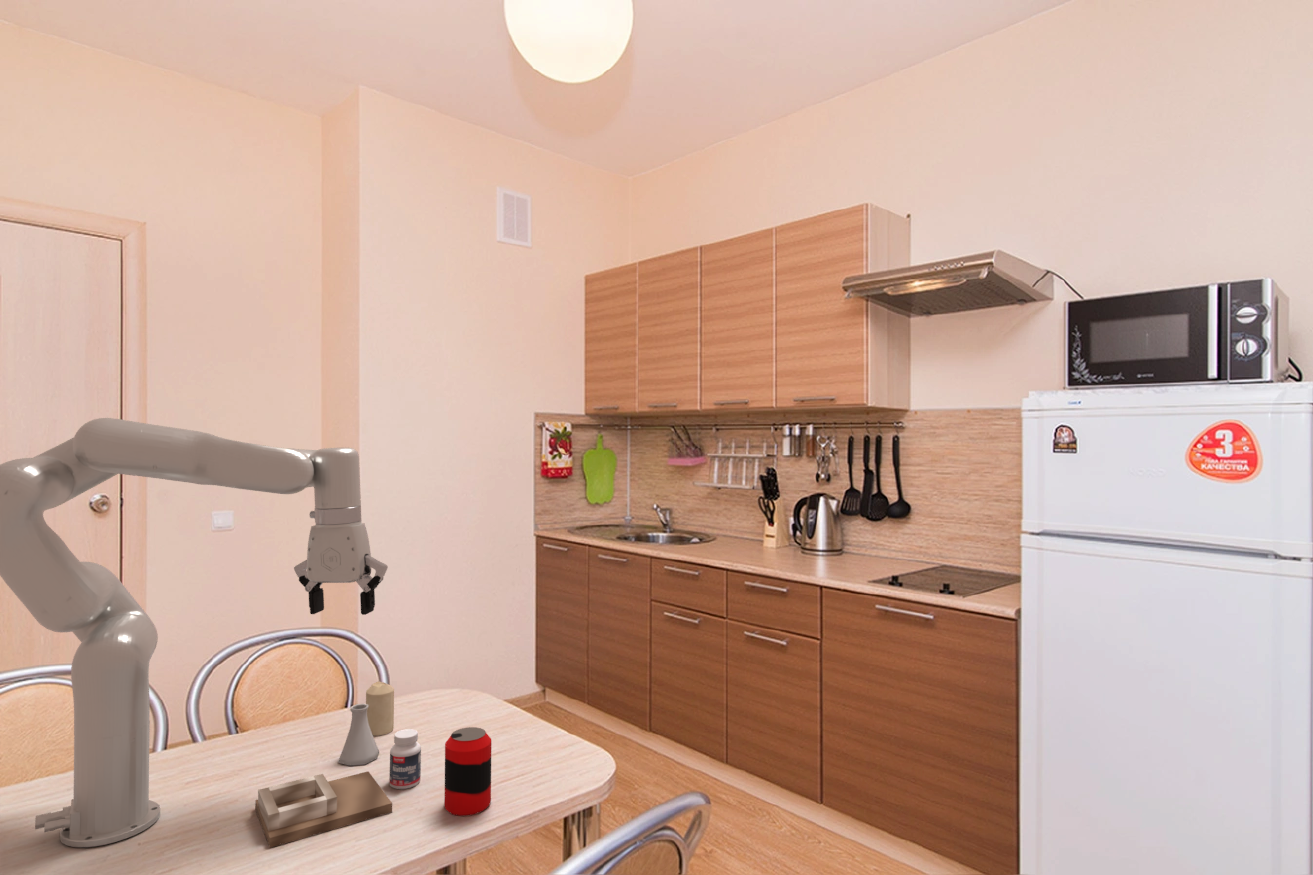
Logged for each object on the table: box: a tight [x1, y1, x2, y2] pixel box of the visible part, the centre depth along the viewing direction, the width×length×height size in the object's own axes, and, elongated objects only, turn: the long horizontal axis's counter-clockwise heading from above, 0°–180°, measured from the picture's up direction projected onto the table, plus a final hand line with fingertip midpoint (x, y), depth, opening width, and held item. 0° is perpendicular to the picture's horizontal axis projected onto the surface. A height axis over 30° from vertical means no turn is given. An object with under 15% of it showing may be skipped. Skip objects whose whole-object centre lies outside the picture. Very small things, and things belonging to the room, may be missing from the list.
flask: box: [337, 703, 380, 766], centre depth 140 cm, size 7×7×10 cm
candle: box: [365, 681, 395, 737], centre depth 153 cm, size 6×6×10 cm
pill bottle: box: [388, 728, 422, 790], centre depth 130 cm, size 5×5×9 cm
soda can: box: [443, 726, 492, 817], centre depth 122 cm, size 8×8×12 cm
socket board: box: [254, 771, 393, 849], centre depth 120 cm, size 18×14×4 cm
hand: (342, 612), depth 130 cm, fingers open, 9 cm apart
